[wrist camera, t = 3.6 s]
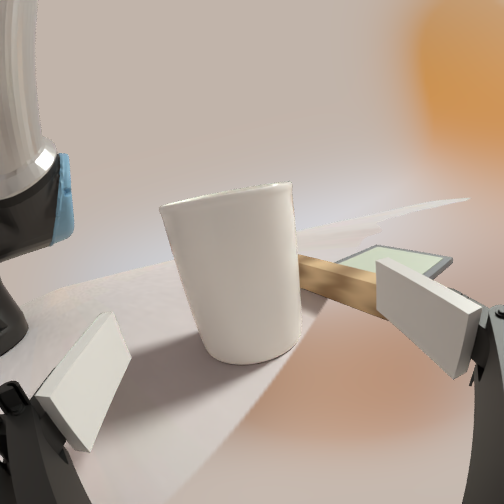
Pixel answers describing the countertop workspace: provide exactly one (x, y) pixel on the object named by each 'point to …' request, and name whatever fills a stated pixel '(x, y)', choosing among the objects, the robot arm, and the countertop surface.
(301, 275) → the brown wooden bar
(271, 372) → the countertop surface
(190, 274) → the candle holder
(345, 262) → the square tile
